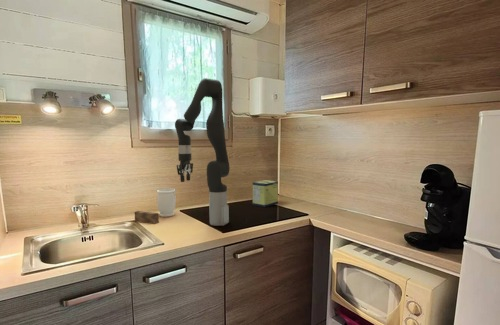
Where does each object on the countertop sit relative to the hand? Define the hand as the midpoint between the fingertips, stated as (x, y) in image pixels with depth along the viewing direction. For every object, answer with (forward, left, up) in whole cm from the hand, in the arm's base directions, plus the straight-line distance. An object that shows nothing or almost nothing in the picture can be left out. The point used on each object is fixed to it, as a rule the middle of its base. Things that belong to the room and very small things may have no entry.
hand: (185, 181), depth 163 cm
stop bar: (+10, +23, -19) cm, 31 cm away
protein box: (-38, -38, -20) cm, 57 cm away
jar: (+8, +8, -20) cm, 23 cm away
